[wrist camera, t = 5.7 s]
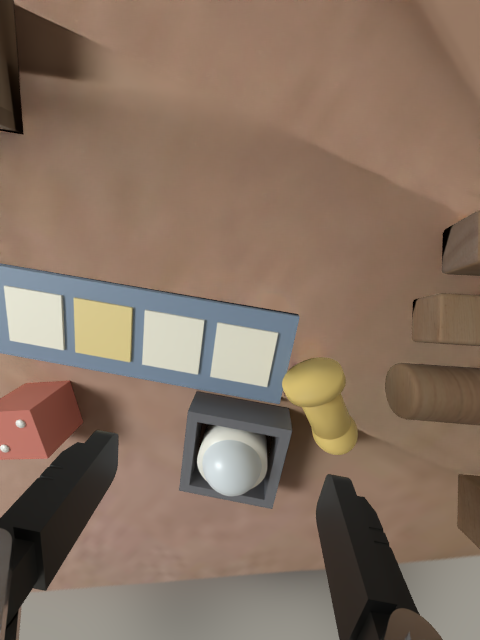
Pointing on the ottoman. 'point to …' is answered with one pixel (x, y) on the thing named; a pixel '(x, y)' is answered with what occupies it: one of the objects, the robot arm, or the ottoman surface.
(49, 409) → the die
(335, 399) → the pawn
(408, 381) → the wooden block set
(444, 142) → the ottoman surface
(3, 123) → the serving frame
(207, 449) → the dome
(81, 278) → the board
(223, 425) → the base
